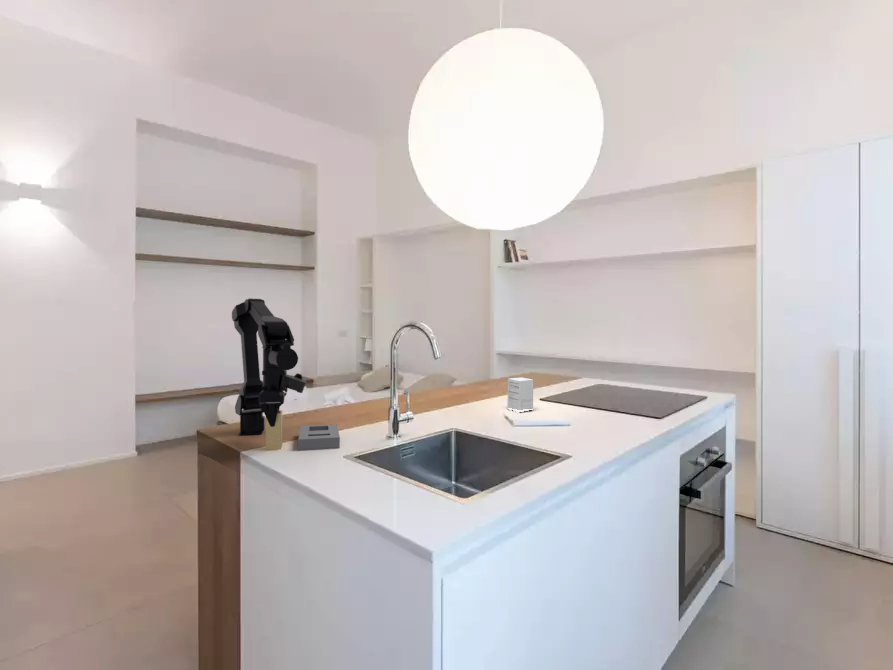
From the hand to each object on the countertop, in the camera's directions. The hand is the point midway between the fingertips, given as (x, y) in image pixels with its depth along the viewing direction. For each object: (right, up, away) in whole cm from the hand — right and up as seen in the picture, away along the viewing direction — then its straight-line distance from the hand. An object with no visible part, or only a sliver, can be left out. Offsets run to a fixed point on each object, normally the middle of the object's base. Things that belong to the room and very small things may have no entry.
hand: (274, 422), depth 134 cm
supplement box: (+77, -6, +57) cm, 96 cm away
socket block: (+11, -7, +7) cm, 15 cm away
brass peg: (0, -7, 0) cm, 7 cm away
